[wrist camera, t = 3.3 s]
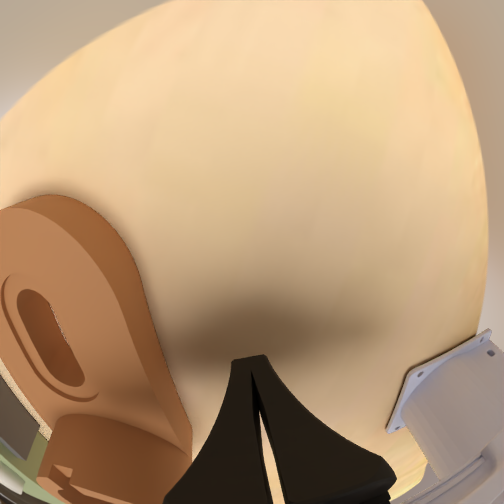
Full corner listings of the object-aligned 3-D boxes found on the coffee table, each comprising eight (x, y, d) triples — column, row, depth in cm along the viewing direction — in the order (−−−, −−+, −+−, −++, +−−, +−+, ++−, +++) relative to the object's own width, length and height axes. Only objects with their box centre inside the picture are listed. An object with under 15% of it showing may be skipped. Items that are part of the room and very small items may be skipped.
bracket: (204, 451, 15) (208, 534, 9) (101, 446, 14) (87, 517, 8) (122, 175, 9) (-10, 218, 3) (-13, 214, 8) (-110, 265, 2)
